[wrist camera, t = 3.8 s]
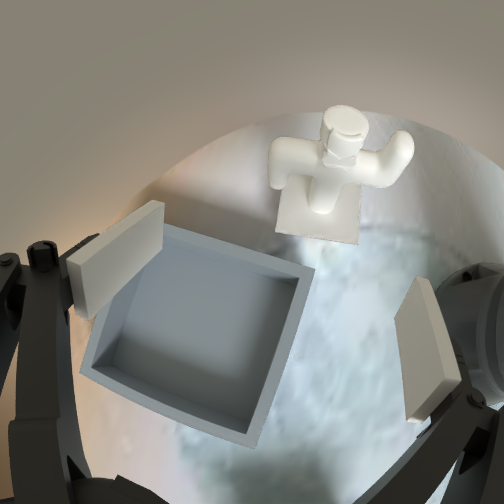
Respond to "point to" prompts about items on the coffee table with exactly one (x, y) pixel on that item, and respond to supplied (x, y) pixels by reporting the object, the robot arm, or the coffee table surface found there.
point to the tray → (201, 334)
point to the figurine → (332, 175)
